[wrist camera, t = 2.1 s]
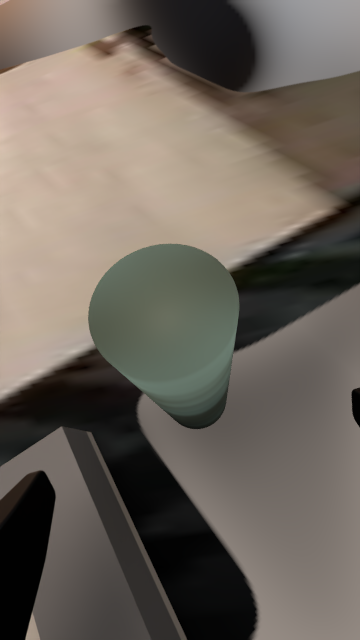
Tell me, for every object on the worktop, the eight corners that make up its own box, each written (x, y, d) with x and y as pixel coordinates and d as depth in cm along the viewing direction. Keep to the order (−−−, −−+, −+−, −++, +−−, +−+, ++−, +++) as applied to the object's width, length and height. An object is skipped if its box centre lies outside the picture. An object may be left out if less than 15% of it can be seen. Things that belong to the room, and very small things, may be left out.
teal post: (238, 405, 19) (272, 318, 7) (187, 442, 18) (132, 413, 7) (203, 356, 20) (183, 222, 9) (155, 389, 20) (65, 291, 8)
